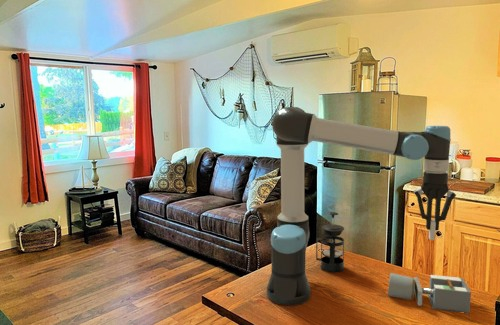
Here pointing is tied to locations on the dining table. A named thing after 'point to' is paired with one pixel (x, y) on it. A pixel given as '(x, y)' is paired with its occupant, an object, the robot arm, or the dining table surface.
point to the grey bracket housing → (449, 294)
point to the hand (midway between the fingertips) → (431, 238)
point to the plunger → (424, 290)
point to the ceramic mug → (401, 286)
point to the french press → (331, 248)
